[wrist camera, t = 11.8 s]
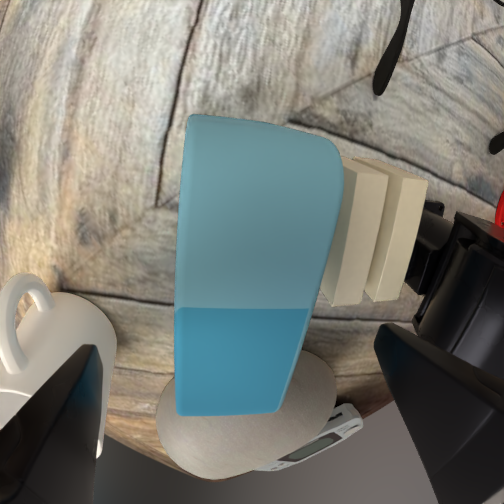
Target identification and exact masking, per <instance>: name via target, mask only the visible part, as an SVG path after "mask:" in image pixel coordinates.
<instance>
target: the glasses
mask: <svg viewBox="0 0 504 504" xmlns="http://www.w3.org/2000/svg"><path fill="white" fill-rule="evenodd" d="M414 1H415V0H400V2H401V16H400V21H399V24H398V27H397V29H396V31H395V33H394V35H393V37H392V39H391V41H390V43H389V45H388V47H387V49H386V51H385V52H384V54H383V56H382V58H381V60H380V62H379V64H378V66H377V68H376V71H375V74H374V79H373V90H374V94H375V95H377V96H381V95H382V94H383V92H384V91H385V89H386V87H387V85H388V83H389V81H390V78H391V76H392V73H393V71H394V68H395V66H396V63H397V61H398V58H399V55H400V52H401V50H402V46H403V43H404V39H405V36H406V32H407V27H408V23H409V19H410V15H411V12H412V8H413V4H414ZM494 1H495V2H496V3H498V4H499V5H501V6H503V7H504V3H503V2H501V1H500V0H494ZM502 149H504V131H503V132H502V133H500V134H498V135H496V136H495V137H494V138H493V139H492V140H491V142H490V145H489V151H490V153H491V154H493V155H495V154H497V153H498V152H500V151H501V150H502Z"/></svg>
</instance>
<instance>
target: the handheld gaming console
mask: <svg viewBox="0 0 504 504" xmlns="http://www.w3.org/2000/svg"><path fill="white" fill-rule="evenodd" d="M362 427H363V420H362V418H361V416H360V414H359V412H358V411H357V410H356V409H355V408H354V406H353V405H352V404H349V403H344V404H342V405H340V406H338V407H336V408H334V409H333V411H332V414H331V416H330V418H329V419H328V421H327V423H326V425H325V426H324V427H323V429H322V430H321V431H320V432H319V433H318V435H317V436H316V437H314V438H313V439H312V440H310V441H309V442H308V443H306V444H305V445H303V446H302V447H300V448H298V449H296V450H295V451H293V452H291V453H289V454H287V455H285V456H283V457H281V458H279V459H277V460H275V461H273V462H271V463H269V464H267V465H264V466H262V467H259V468H257V469H254V470H260V471H277V470H280V469H283V468H285V467H288V466H291V465H294V464H297V463H299V462H302V461H304V460H306V459H308V458H310V457H312V456H314V455H316V454H318V453H320V452H322V451H324V450H326V449H328V448H330V447H332V446H334V445H335V444H337V443H339V442H341V441H343V440H344V439H346V438H348V437H349V436H350V435H352V434H353V433H354V432H356V431H358V430H359V429H361V428H362Z"/></svg>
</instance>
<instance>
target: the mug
mask: <svg viewBox="0 0 504 504" xmlns="http://www.w3.org/2000/svg"><path fill="white" fill-rule="evenodd" d="M26 292H28V293H29V294H30V295H31V296H32V298H33V299H34V301H35V302H34V303H33V304H32V305H31V306H30V307H29V309H28V310H27V312H26V314H25V315H24V317H23V319H22V321H21V322H20V324H19V326H18V328H17V329H16V328H15V315H16V309H17V305H18V303H19V300H20V298H21V297H22V295H23V294H25V293H26ZM83 344H94V345H96V346H97V348H98V351H99V355H100V358H101V361H102V364H103V385H102V411H101V422H100V429H99V437H98V446H97V455H96V458H98V457H99V456H100V454H101V452H102V446H103V437H104V429H105V421H106V413H107V406H108V399H109V393H110V387H111V381H112V375H113V369H114V363H115V358H116V351H117V339H116V334H115V331H114V329H113V326H112V324H111V323H110V321H109V319H108V318H107V317H106V315H105V314H104V313H103V312H102V311H101V310H100V309H99V308H98V307H96V306H95V305H94V304H92V303H91V302H89V301H88V300H86V299H84V298H82V297H80V296H77V295H74V294H70V293H64V292H54V293H50V291H49V289H48V287H47V286H46V284H45V283H44V282H43V281H42V279H40V278H39V277H38V276H36V275H35V274H32V273H28V272H22V273H18V274H16V275H14V276H13V277H11V278H10V279H9V280H8V281H7V282H6V284H5V285H4V287H3V288H2V290H1V292H0V357H1V360H0V430H1V429H2V428H3V427H4V426H5V425H6V424H7V423H8V421H9V420H10V419H11V418H12V417H13V416H14V415H16V413H17V412H18V411H19V410H20V408H21V407H22V406H23V405H24V404H25V403H26V402H27V401H28V400H29V399H30V398H31V397H32V396H33V394H34V393H35V392H36V391H37V390H38V389H39V388H40V387H41V386H42V385H43V384H44V383H45V382H46V381H47V380H48V379H49V378H50V377H51V376H52V375H53V374H54V373H55V371H56V370H57V369H58V368H59V367H60V366H61V365H62V364H63V363H64V362H65V361H66V360H67V359H68V358H69V357H70V356H71V355H72V354H73V353H74V352H75V351H76V350H77V349H78V348H79V347H80V346H81V345H83Z"/></svg>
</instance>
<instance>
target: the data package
mask: <svg viewBox="0 0 504 504" xmlns="http://www.w3.org/2000/svg"><path fill="white" fill-rule="evenodd" d="M343 191H344V170H343V164H342V160H341V156H340V154H339V151H338V149H337V148H336V146H335V145H334V144H333V143H332V142H331V141H330V140H328V139H326V138H323V137H320V136H316V135H313V134H309V133H306V132H302V131H298V130H294V129H290V128H286V127H282V126H278V125H274V124H270V123H266V122H260V121H253V120H245V119H237V118H229V117H220V116H210V115H198V114H192V115H190V116H189V118H188V122H187V127H186V134H185V143H184V152H183V162H182V172H181V184H180V196H179V210H178V225H177V243H176V266H175V303H174V364H175V399H176V412H177V414H178V415H180V416H231V415H249V414H263V413H274V412H276V411H278V410H279V409H280V408H281V406H282V404H283V402H284V399H285V396H286V393H287V390H288V387H289V384H290V382H291V379H292V376H293V373H294V370H295V367H296V364H297V361H298V358H299V355H300V352H301V348H302V345H303V342H304V339H305V336H306V333H307V329H308V326H309V323H310V320H311V316H312V313H313V310H314V306H315V303H316V299H317V296H318V292H319V289H320V285H321V282H322V278H323V274H324V271H325V267H326V263H327V260H328V256H329V252H330V248H331V244H332V240H333V237H334V233H335V229H336V224H337V220H338V216H339V212H340V208H341V203H342V198H343Z"/></svg>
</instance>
